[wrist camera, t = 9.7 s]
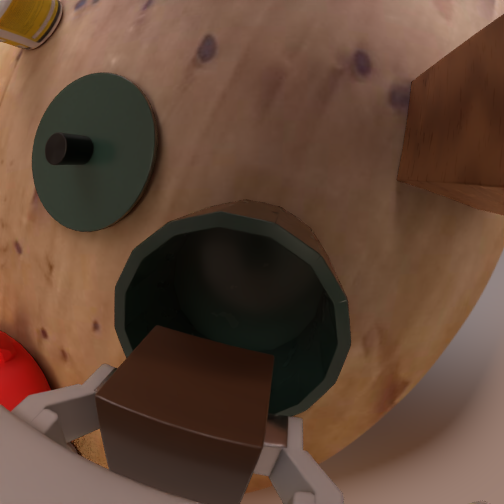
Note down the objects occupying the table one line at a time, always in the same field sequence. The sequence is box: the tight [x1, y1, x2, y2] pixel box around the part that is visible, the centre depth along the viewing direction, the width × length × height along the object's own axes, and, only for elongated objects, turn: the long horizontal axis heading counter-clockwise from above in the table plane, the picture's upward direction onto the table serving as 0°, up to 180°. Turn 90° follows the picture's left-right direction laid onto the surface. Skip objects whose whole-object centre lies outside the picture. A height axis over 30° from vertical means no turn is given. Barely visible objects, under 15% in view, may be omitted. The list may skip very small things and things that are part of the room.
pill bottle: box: [0, 0, 62, 50], centre depth 14 cm, size 6×6×12 cm
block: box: [95, 325, 274, 504], centre depth 9 cm, size 4×4×4 cm
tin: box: [115, 200, 351, 417], centre depth 19 cm, size 12×12×8 cm
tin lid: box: [32, 73, 158, 232], centre depth 20 cm, size 13×13×5 cm
